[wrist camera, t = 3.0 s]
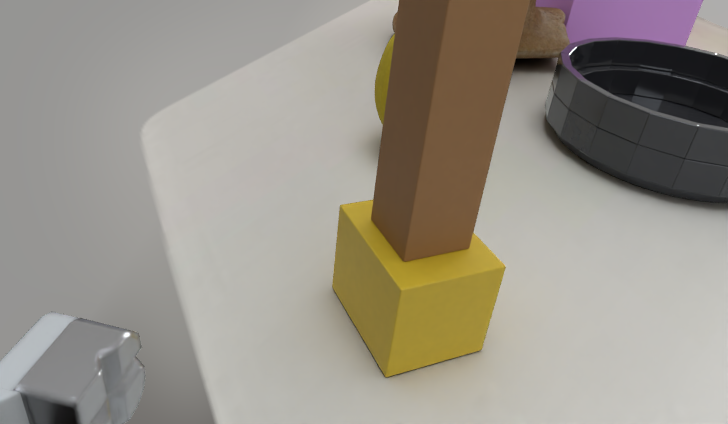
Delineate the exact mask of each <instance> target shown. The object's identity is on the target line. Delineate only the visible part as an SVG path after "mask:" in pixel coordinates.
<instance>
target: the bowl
mask: <svg viewBox="0 0 728 424" xmlns="http://www.w3.org/2000/svg"><path fill="white" fill-rule="evenodd" d="M545 109H546V118H547V121H548V122H549V123H550V125H551V126H552V127H553V128H554V130H555V132H556V134H557V136H558V137H559V139H560V140H561V141H562V143H563V144H564V145H565V146H566V147H567V148H568V149H570V150H571V151H572V152H573V153H575V154H576V155H577V156H578V157H580V158H581V159H583V160H584V161H586V162H587V163H589V164H591V165H592V166H594V167H596V168H598V169H600V170H602V171H604V172H606V173H608V174H610V175H612V176H614V177H616V178H619V179H621V180H624V181H626V182H629V183H631V184H634V185H637V186H640V187H643V188H646V189H649V190H652V191H656V192H659V193H663V194H667V195H671V196H675V197H680V198H685V199H691V200H697V201H705V202H715V203H728V57H727V56H724V55H720V54H716V53H713V52H709V51H704V50H700V49H696V48H692V47H687V46H683V45H678V44H672V43H665V42H659V41H653V40H645V39H633V38H618V37H615V38H614V37H610V38H591V39H585V40H581V41H578V42H574V43H570V44H569V45H568V46H567V47H565V48H564V49H563V50H562V51H561V52H560V54H559V58H558V61H557V65H556V68H555V72H554V76H553V80H552V83H551V86H550V90H549V93H548V97H547V100H546V104H545Z"/></svg>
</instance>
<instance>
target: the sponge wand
mask: <svg viewBox="0 0 728 424" xmlns="http://www.w3.org/2000/svg"><path fill="white" fill-rule="evenodd" d="M529 2H530V0H399V6H398V14H397V21H396V29H395V37H394V44H393V52H392V60H391V68H390V75H389V83H388V91H387V98H386V106H385V114H384V122H383V129H382V137H381V145H380V153H379V160H378V168H377V176H376V183H375V191H374V199H373V200H369V201H362V202H356V203H350V204H344V205H340V211H339V221H338V232H337V243H336V253H335V264H334V274H333V285H332V287H333V289H334V291H335V292H336V294H337V296H338V298H339V299H340V301H341V303H342V304H343V306H344V308H345V309H346V311H347V313H348V314H349V316H350V318H351V320H352V321H353V323H354V325H355V326H356V328H357V330H358V331H359V333H360V335H361V336H362V338H363V340H364V341H365V343H366V345H367V347H368V348H369V350H370V352H371V353H372V355H373V357H374V358H375V360H376V362H377V363H378V365H379V367H380V369H381V370H382V372H383V374H384V375H385V377H389V376H393V375H396V374H400V373H403V372H407V371H410V370H414V369H417V368H421V367H424V366H428V365H431V364H435V363H438V362H441V361H445V360H448V359H452V358H455V357H459V356H462V355H466V354H469V353H473V352H476V351H480V350H481V349H482V347H483V343H484V340H485V336H486V333H487V329H488V326H489V323H490V319H491V316H492V312H493V309H494V305H495V302H496V299H497V295H498V292H499V288H500V285H501V281H502V278H503V274H504V271H505V268H506V267H505V265H504V264H503V263H502V262H501V261H500V260H499V259H498V258H497V257H496V256H495V254H494V253H493V252H492V251H491V250H490V249H489V248H488V247H487V246H486V245H485V244H484V243H483V242H482V241H481V240H480V239H479V238H478V237H477V236H476V235H475V234H474V233H473V231H474V227H475V223H476V219H477V215H478V211H479V207H480V202H481V198H482V194H483V190H484V186H485V182H486V178H487V174H488V170H489V166H490V162H491V157H492V153H493V149H494V145H495V141H496V137H497V133H498V129H499V125H500V121H501V117H502V112H503V108H504V104H505V100H506V96H507V92H508V88H509V84H510V80H511V76H512V71H513V67H514V63H515V59H516V55H517V51H518V47H519V43H520V39H521V35H522V31H523V26H524V22H525V18H526V14H527V10H528V6H529Z"/></svg>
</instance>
